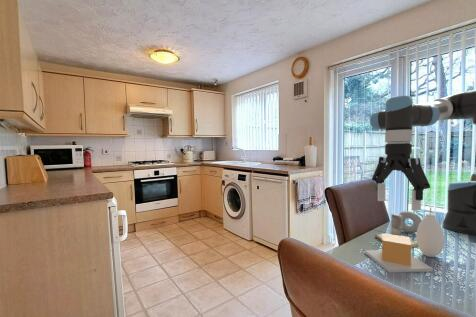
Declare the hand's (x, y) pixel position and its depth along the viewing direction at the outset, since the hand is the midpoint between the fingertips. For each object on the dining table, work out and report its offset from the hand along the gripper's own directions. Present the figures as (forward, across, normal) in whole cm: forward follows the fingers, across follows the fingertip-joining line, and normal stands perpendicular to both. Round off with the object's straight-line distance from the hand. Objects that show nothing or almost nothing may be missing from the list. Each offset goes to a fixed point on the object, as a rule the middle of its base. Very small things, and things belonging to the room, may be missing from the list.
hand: (397, 205), depth 81 cm
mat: (+20, 0, 0) cm, 20 cm away
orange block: (+19, 0, 0) cm, 19 cm away
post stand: (+20, +14, -15) cm, 29 cm away
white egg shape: (+20, +1, -15) cm, 25 cm away
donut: (+20, +22, -29) cm, 42 cm away
